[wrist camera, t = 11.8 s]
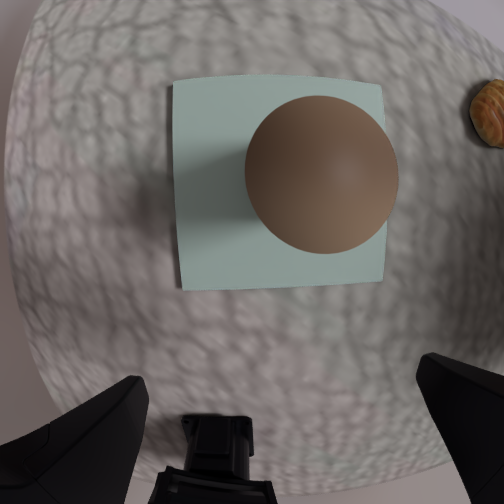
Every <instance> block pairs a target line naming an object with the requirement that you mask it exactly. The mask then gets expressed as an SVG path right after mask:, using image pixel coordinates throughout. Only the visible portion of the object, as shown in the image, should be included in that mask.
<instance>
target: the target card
mask: <svg viewBox="0 0 504 504" xmlns="http://www.w3.org/2000/svg"><path fill="white" fill-rule="evenodd" d="M313 95H320V96H330V97H336V98H339V99H343V100H345V101H348V102H350V103H352V104H354V105H356V106H358V107H359V108H361V109H362V110H364V111H365V112H366V113H368V114H369V115H370V116H371V117H372V118H373V119H374V120H375V121H376V122H377V123H378V124H379V125H380V127H381V128H382V129H383V131H384V132H385V134H386V129H385V117H384V107H383V98H382V90H381V85H375V84H370V83H364V82H357V81H350V80H343V79H334V78H325V77H313V76H297V75H232V76H216V77H204V78H195V79H186V80H179V81H173V174H174V196H175V212H176V227H177V239H178V251H179V261H180V271H181V280H182V289H183V290H230V289H260V288H283V287H303V286H321V285H337V284H351V283H365V282H378V281H382V280H383V271H384V260H385V248H386V233H387V220H386V221H385V223H384V224H383V226H382V227H381V228H380V229H379V231H377V232H376V233H375V234H374V235H373V236H372V237H371V238H370V239H368V240H367V241H366V242H364V243H363V244H361V245H359V246H357V247H355V248H353V249H350V250H348V251H344V252H340V253H334V254H316V253H310V252H305V251H302V250H299V249H296V248H294V247H292V246H290V245H288V244H286V243H285V242H283V241H282V240H280V239H279V238H277V237H276V236H275V235H274V234H273V233H271V232H270V231H269V230H268V228H267V227H266V226H265V225H264V224H263V223H262V221H261V220H260V218H259V217H258V216H257V214H256V212H255V210H254V208H253V206H252V204H251V201H250V199H249V196H248V192H247V188H246V183H245V159H246V154H247V150H248V147H249V143H250V141H251V139H252V137H253V135H254V132H255V131H256V129H257V128H258V126H259V125H260V123H261V122H262V121H263V120H264V119H265V118H266V117H267V116H268V115H269V114H270V113H271V112H272V111H274V110H275V109H276V108H278V107H279V106H281V105H283V104H284V103H286V102H289V101H291V100H294V99H297V98H301V97H305V96H313Z"/></svg>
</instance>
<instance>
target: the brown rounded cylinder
mask: <svg viewBox="0 0 504 504" xmlns="http://www.w3.org/2000/svg"><path fill="white" fill-rule="evenodd" d="M245 183H246V188H247V192H248V196H249V199H250V201H251V204H252V206H253V208H254V210H255V212H256V214H257V216H258V217H259V218H260V220H261V221H262V223H263V224H264V225H265V226H266V227H267V228H268V230H269V231H270V232H271V233H273V234H274V235H275V236H276V237H277V238H279V239H280V240H282V241H283V242H285V243H286V244H288V245H290V246H292V247H294V248H296V249H299V250H302V251H305V252H310V253H316V254H334V253H340V252H344V251H348V250H350V249H353V248H355V247H357V246H359V245H361V244H363V243H364V242H366V241H367V240H368V239H370V238H371V237H372V236H373V235H374V234H375V233H376V232H377V231H379V229H380V228H381V227H382V226H383V224H384V223H385V221H386V220H387V218H388V216H389V215H390V213H391V210H392V208H393V206H394V203H395V199H396V195H397V190H398V166H397V161H396V157H395V153H394V150H393V148H392V145H391V143H390V141H389V139H388V137H387V136H386V134H385V132H384V131H383V129H382V128H381V127H380V125H379V124H378V123H377V122H376V121H375V120H374V119H373V118H372V117H371V116H370V115H369V114H368V113H366V112H365V111H364V110H362V109H361V108H359V107H358V106H356V105H354V104H352V103H350V102H348V101H345V100H343V99H339V98H336V97H330V96H320V95H313V96H305V97H301V98H297V99H294V100H291V101H289V102H286V103H284V104H283V105H281V106H279V107H278V108H276V109H275V110H274V111H272V112H271V113H270V114H269V115H268V116H267V117H266V118H265V119H264V120H263V121H262V122H261V123H260V125H259V126H258V128H257V129H256V131H255V132H254V135H253V137H252V139H251V141H250V143H249V147H248V150H247V154H246V159H245Z"/></svg>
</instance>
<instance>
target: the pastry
mask: <svg viewBox="0 0 504 504" xmlns="http://www.w3.org/2000/svg"><path fill="white" fill-rule="evenodd" d="M469 112H470V117H471V119H472V121H473V124H474V126H475V129H476V131H477V133H478V134H479V136H480V137H481V139H482V140H484V141H485V142H487V143H488V144H489V145H490V146H498V147H500V148H504V81H503V80H498V79H494V80H493V81H492V82H489V83H488V84H486V85H485V86H484V87H483V88H482V89H481V90H480V92H479V93H478V94H477V95H476V96H475V98H474V99H473V100H472V102H471V106H470V109H469Z"/></svg>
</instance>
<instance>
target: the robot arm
mask: <svg viewBox="0 0 504 504" xmlns="http://www.w3.org/2000/svg"><path fill="white" fill-rule="evenodd" d="M416 381H417V383H418V386H419V388H420V390H421V393H422V395H423V398H424V400H425V403H426V405H427V408H428V410H429V413H430V415H431V417H432V419H433V421H434V423H435V425H436V426H437V428H438V430H439V432H440V434H441V436H442V438H443V440H444V442H445V445H446V447H447V449H448V451H449V453H450V455H451V457H452V459H453V461H454V464H455V466H456V468H457V470H458V472H459V475H460V477H461V479H462V482H463V484H464V486H465V489H466V491H467V493H468V496H469V499H470V501H471V504H504V376H503V375H500V374H496V373H493V372H490V371H487V370H484V369H481V368H478V367H475V366H472V365H469V364H466V363H463V362H460V361H457V360H454V359H451V358H448V357H445V356H442V355H439V354H436V353H428V354H424V355H423V356H422V357H421V359H420V363H419V366H418V369H417V373H416ZM148 405H149V396H148V392H147V389H146V386H145V383H144V380H143V378H142V377H141V376H133V375H130V376H127V377H126V378H124V379H123V380H121V381H119V382H118V383H116V384H114V385H113V386H111V387H110V388H108V389H106V390H105V391H103V392H101V393H100V394H98V395H96V396H95V397H93V398H91V399H90V400H88V401H86V402H85V403H83V404H81V405H79V406H78V407H76V408H74V409H73V410H71V411H69V412H67V413H66V414H64V415H62V416H60V417H59V418H57V419H55V420H53V421H51V422H50V424H46V425H44V426H43V427H41V428H39V429H37V430H35V431H33V432H31V433H29V434H27V435H25V436H22V437H20V438H18V439H15V440H13V441H10V442H8V443H5V444H3V445H1V446H0V504H124V502H125V498H126V494H127V490H128V487H129V483H130V479H131V476H132V473H133V469H134V466H135V463H136V459H137V456H138V453H139V449H140V446H141V442H142V438H143V432H144V427H145V421H146V415H147V410H148ZM186 420H187V421H186ZM181 423H182V426H183V429H184V432H185V435H186V439H187V442H188V449H187V454H186V459H185V464H184V470H180V469H176V468H173V467H171V466H167V467H166V470H165V471H164V472H159V473H158V476H157V480H156V483H155V487H154V490H153V492H152V494H151V497H150V499H149V501H148V504H278V503H277V500H276V496H275V493H274V489H273V486H272V482H271V481H266V480H265V481H253V480H250V475H249V457H251V456H253V455H254V446H253V427H252V419H251V418H249V417H200V416H183V417H182V419H181Z"/></svg>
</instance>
